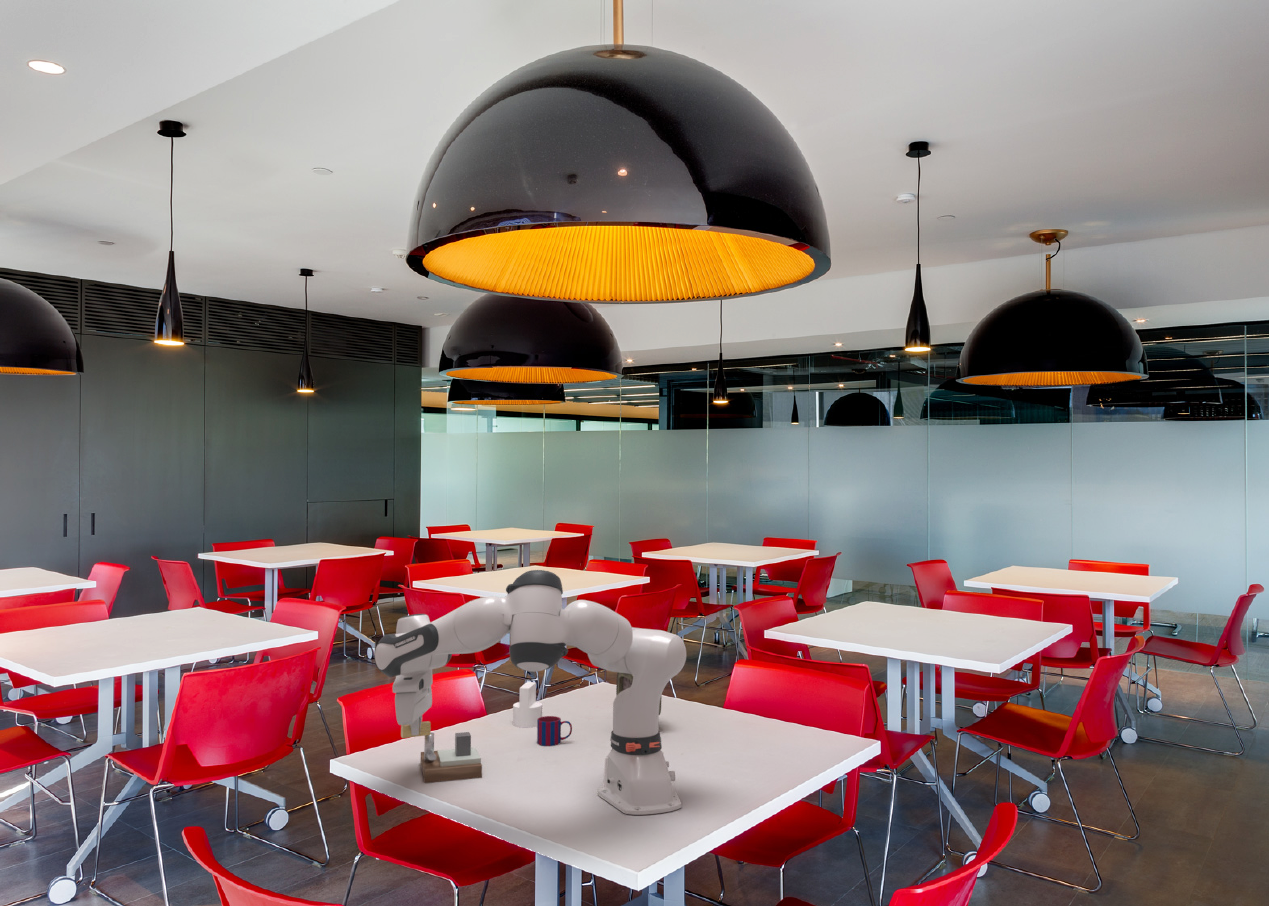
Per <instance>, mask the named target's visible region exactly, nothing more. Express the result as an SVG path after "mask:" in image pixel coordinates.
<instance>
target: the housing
mask: <svg viewBox="0 0 1269 906" xmlns="http://www.w3.org/2000/svg"><path fill="white" fill-rule="evenodd" d="M434 754H435V755H436V760H434V761H432V762H425V761H424V751H420V768H421V772H422V777H423V781H424V784H426V783H427V784H429V783H430V784H431V783H439V782H448V781H450V782H451V781H458V780H459V781H460V780H461V781H462V780H469V779H479V778H482V775H483V772H482V771H483V765H482V762H481V763H476V764H465V765H454V766H443V767H441V766H440V762H439V759H438V756H437V750H434Z"/></svg>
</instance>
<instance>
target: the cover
mask: <svg viewBox="0 0 1269 906" xmlns="http://www.w3.org/2000/svg"><path fill="white" fill-rule="evenodd" d="M471 746H472V735H471V732H469V731H465V732H455V734H454V748H450V749H440V750H436V751H437V756H438V759H439V762H440V766H441V767H443V766H454V765H465V764H476V763H481V764H482V757H481V755H480V753H479V751H478V749H477V747H476V746H473V747H471Z"/></svg>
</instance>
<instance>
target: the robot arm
mask: <svg viewBox="0 0 1269 906" xmlns="http://www.w3.org/2000/svg"><path fill="white" fill-rule="evenodd" d="M563 589H564V588H563V583H562V580H561V578H560V577H559V576H558V575H557V574H556V573H555V572H552V571H549V570H544V569H531V570H528V571H525V572H524V573H522V574H520V575H519V576H518V577H516V578H515V579H514V581H513V583H510V584H508V585H507V586H506V588H505V592H506V594H507V595H505V596H503V597H502V596H501V597H499V596H494V595H493V596H491V595H490V596H483V597H480V598H476V599H472V600H470V601H468V602H466V603H465V604H463V605H461V606H459V607H457V608H456V609H453V610H452V611H450V612H448V613H447V614H445V615H443V616H441V617H439V618H437V619H435V620H433V621H430V617H429V615H428V614H426V613H416V614H415V613H414V614H409V615H408V614H407V615H404V616H401V617H400V618H399V619H397V623H396V629H395V633H388V634H384V635H383V636H382V637H381V639H380V640H379V641H378V642H377V644H376V646H375V648H374V653H373V657H374V663H375V666H376V668H377V670H379V671H380V672H381V673H383V674H384V675H385V676H387V677H388V678H392V677H395V679H394V682H393V684H392V693H394V694H395V695H394V707H395V716H396V721H397V724H398V725H399V726H401V725H410V726H411V734H412V735H413V736H414V735H418V734H419V733H420V732H421V722H423V715H424V714H425V713H426V712H427V711H428V710H429V709H430V708H432V707H433V706H432V705H433V692H432V685H433V683H434V682H433V681H434V679H433V670H435V669H439V668H442V667H445V666H447V664H448V663H449V662H450V660H451V659H452V657H453V656H452V655H460V654H461V655H463V654H474V653H479V652H481V651H484V650H487V649H489V648H490V647H492V646H494V645H496V644H497V643H499V642H500V641H501V640H503V638H504V637H506V635H507V634H510V636H509V638H510V640H509V641H510V646H509V648H508V649H509V658H510V661H511V664H512V665H514V666H515V667H516V668H517V669H520V670H523V671H526V672H534V673H536V672H541V671H545V670H548V669H551V668H553V666H555V665H556V664H557V663H559V662H560V659H561V658H563V657H565V656H567V655H568V652H569V649H568V648H567V647H569V646H571V647H575V648H576V649H579V650H580V651H582V652H583V653H586V654H587V657H588V659H589V662H590V663H591V664H592V666H594V667H598V668H600V669H603V670H605V671H608V672H613V673H618V672H619V673H628V674H633V682H632V685H631V687H629V688H627V689H625V690H623V691H622V692H620V693H619V694H618V695H617V696H615V698H614V700H613V703H612V730H611V733H610V748H611V749H610V752H609V753H608V755H606V757H605V759H604V768H603V769H604V770H603V771H604V772H603V773H604V774H603V785H602V787H599V788H598V789H597V793H596V794H597V795H596V796H599V797H600V798H602V799H603V800H605V801H606V802H607V803H608V804H610V805H611V806H613V807H615V809H617V810H619V811H620V812H622V813H623V814H626V815H634V816H635V815H637V816H638V815H639V816H641V815H655V814H662V813H669V812H672V811H676V810H679V809H681V808H683V807H682V802H681V799H680V797H679V795H678V793H677V791H676V789H675V787H674V785H673V782H675V781H676V773H675V770H669V767H670V762H669V760H668V761H667V760H666V759H665V756H664V752H663V751H662V749H663V748H662V736H661V733H660V732H661V731H660V730H659V720H660V717H659V716H660V715H659V704H660V698H661V695H662V694H663V691H664V689H665V687H667V684H668V683H669V682H670V681H671V679H673V678H674V677H675V676H677V675H678V674H679V673H680V672H681V671H682V669H683V667H684V666H685V664H686V661H687V647H686V644H685V643H684V641H683V639H682V638H681V636H679V635H678V634H674V633H671V632H668V631H665V630H661V629H651V628H640V627H633V626H632V625H631V623H630V621H629V620H628V619H627V618H625V617H624V616H622V615H621V614H619V613H618V612H616V611H614V610H612V609H611V608H610V607H608V606H605V605H603V604H600V603H598V602H596V601H591V600H586V599H578V600H577V599H576V600H575V601H572V602H570V603H568V604H567V605H566V607H564V608H563V599H562V598H563V596H562V595H563V594H564V590H563ZM566 646H567V647H566ZM661 699H662V698H661Z"/></svg>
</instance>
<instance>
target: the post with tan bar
mask: <svg viewBox="0 0 1269 906" xmlns="http://www.w3.org/2000/svg"><path fill="white" fill-rule="evenodd" d="M431 725H432V723H431V721H430V720H428V721H422V722H421V732H420V733H419V734H418V735H414V736H413V735H412V734H411V726H410V725H400V737H401V738H402V739H407V738H408V739H409V738H416V737H423V736H424V745H423V746H424V751H423V752H424V761H425V762H432V761H434V760H436V755H435V754H434V751H435V733H434V732H431V731H432V730H431V729H432V727H431Z"/></svg>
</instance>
